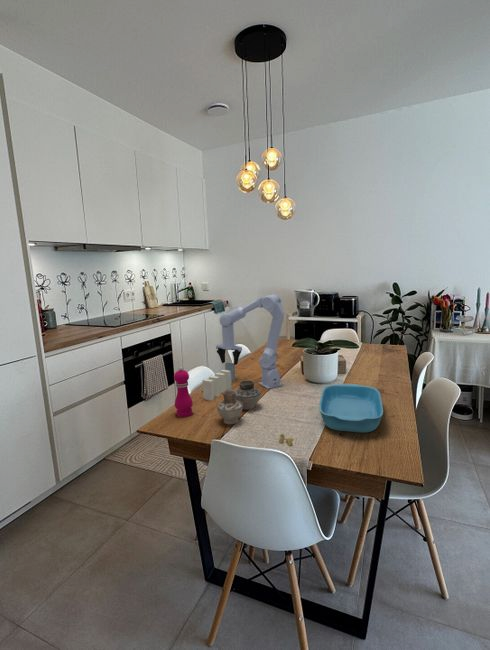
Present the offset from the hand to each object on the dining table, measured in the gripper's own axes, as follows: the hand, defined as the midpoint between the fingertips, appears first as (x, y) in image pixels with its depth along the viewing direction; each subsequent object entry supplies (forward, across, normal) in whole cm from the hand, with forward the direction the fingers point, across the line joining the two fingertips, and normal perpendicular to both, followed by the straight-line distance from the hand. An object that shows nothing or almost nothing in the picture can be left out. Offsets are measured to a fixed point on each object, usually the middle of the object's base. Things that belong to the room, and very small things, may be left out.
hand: (229, 363), depth 180 cm
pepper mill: (+9, -5, +42) cm, 44 cm away
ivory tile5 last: (+9, -5, +25) cm, 27 cm away
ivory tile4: (+9, -5, +21) cm, 23 cm away
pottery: (+9, -25, +32) cm, 42 cm away
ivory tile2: (+9, -5, +11) cm, 15 cm away
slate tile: (+9, 0, 0) cm, 9 cm away
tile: (+9, -5, +16) cm, 19 cm away
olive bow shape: (+10, -50, +45) cm, 68 cm away
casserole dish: (+9, -65, +16) cm, 68 cm away
